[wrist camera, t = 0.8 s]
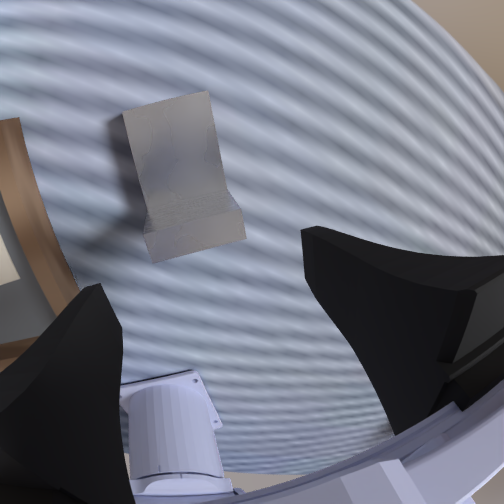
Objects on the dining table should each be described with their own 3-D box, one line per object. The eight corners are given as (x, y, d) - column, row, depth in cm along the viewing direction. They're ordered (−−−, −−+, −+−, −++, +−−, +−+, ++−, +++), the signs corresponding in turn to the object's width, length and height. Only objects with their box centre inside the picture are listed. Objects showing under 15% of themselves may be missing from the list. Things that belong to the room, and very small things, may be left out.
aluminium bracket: (227, 205, 19) (246, 238, 15) (155, 224, 18) (152, 263, 14) (205, 92, 16) (218, 85, 11) (126, 111, 15) (109, 113, 11)
